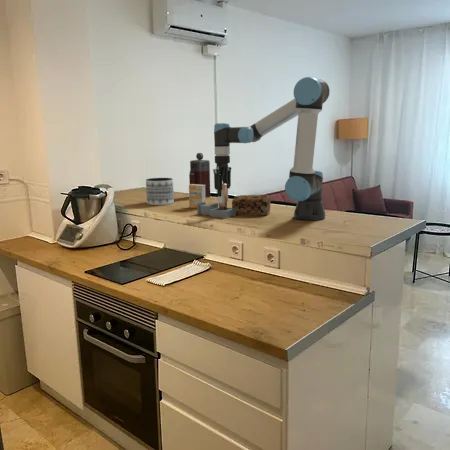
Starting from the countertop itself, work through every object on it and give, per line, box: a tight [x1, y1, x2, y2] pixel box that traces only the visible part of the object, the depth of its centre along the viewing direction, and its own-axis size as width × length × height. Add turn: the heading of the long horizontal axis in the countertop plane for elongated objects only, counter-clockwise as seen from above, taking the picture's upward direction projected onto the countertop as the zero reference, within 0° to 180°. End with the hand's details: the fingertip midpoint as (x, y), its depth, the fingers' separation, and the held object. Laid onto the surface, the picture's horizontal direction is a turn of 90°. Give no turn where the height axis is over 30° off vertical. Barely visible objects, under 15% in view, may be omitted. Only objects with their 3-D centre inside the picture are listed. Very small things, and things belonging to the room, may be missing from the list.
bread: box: [231, 194, 271, 216], centre depth 240 cm, size 19×11×10 cm, turn 74°
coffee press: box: [188, 152, 211, 198], centre depth 296 cm, size 9×11×28 cm
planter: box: [145, 177, 175, 206], centre depth 276 cm, size 16×16×14 cm
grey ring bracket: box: [196, 201, 236, 219], centre depth 238 cm, size 10×19×6 cm, turn 58°
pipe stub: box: [218, 182, 228, 210], centre depth 234 cm, size 4×4×16 cm
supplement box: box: [188, 183, 206, 209], centre depth 259 cm, size 8×5×13 cm, turn 68°
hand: (223, 201), depth 234 cm, fingers open, 4 cm apart
